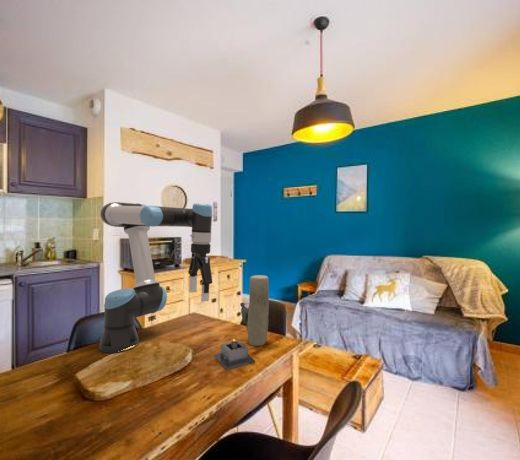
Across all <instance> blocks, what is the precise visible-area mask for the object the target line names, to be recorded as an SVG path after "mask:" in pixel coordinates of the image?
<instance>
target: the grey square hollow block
mask: <svg viewBox="0 0 520 460" xmlns="http://www.w3.org/2000/svg"><path fill="white" fill-rule="evenodd" d="M220 353H221V356H222V357H223V358H224V359H225V361H226V362H227V363H228V364H231V363H235V362H239V361H243V360H247V359H248V355H249V347H247V346H246V345H245V344H244V343H243V342H242V341H240V340H238V339H237V349H232V350H231V341H230V342H225V343H221V344H220Z"/></svg>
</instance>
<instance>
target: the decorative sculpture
mask: <svg viewBox="0 0 520 460" xmlns="http://www.w3.org/2000/svg"><path fill="white" fill-rule="evenodd" d="M269 282H270V281H269V277H268V276H267V275H265V274H264V275H263V274H262V275H261V274H260V275H259V274H258V275H256V274H255V275H252V276H250V279H249V303H247V302H241V303H240V304H239V306H240V307H241V308H240V313H241V318H242V322H243V325H244V326H245V325H246V331H247V342H248V344H249V345H251V346H253V347H256V346H257V347H259V346H260V347H261V346H264V345H265V344H266V342H267V337H268V330H269V313H270V312H269V310H270V307H269V306H270V297H269V296H270V293H269V290H270V289H269V288H270V287H269ZM248 304H249V305H248ZM245 305H248V308H247V307H246V306H245Z"/></svg>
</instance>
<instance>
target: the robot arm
mask: <svg viewBox="0 0 520 460" xmlns="http://www.w3.org/2000/svg"><path fill="white" fill-rule="evenodd" d="M99 214H100V218H101V220H102V222H103V223H104V224H105V225H107V226H110V227H115V228H117V227H118V228H123V232H124V233H125V234H127V237H128V242H129V248H130V254H131V260H132V266H133V273H134V281H135V284H134V285H133V287H132V288H121V289H117V290H113V291H111V292H110V293H108V294H106V296H105V297H104V305H103V307H104V310H103V311H104V323H103V324H104V328H103V332H102V335H101V337H100V341H99V347H98V349H99V350H100V352H103V353H106V354H108V353H109V354H112V353H113V354H115V352H117V353H119V352H118V351H121V350H123V349H126V348H128V347H130V346H133V345H136V344H138V345H139V339H140V338H139V335H138V332H137V329H136V326H135V320H136V319H135V318H140V317H143V316H148V315H150V314H156V313H157V312H160V311H162V310H163V309H164V308H165V306H166V304H167V301H168V294H167V290H166V289H165V287H164V286H161V285H160V281H158V280H156V277H155V276H156V275H155V270H154V266H153V264H154V263H153V260H152V259H153V258H152V253H151V249H150V248H151V247H150V241H149V235H148V233H149V230H150V227H179V228H180V227H181V228H182V227H187V228H191V234H190V235H189V236H190V238H191V240H190V241H191V242H192V243H191V244H190V252H191V258H190V263H189V267H188V270H187V271H188V274H189V293H192V294H193V293H197V290H198V289H197V288H198V287H197V284H198V283H197V282H198V271H200V277H201V280H202V282H201V294H200V296H201V297H200V302H201V303H203V302H210V300H209V299H210V285H211V284H213V277H212V269H211V259H210V256H209V257H208V256H207V254H210V253H211V242H212V241H211V240H212V221H213V220H212V218H213V207H212V205H211V204H210V203H194V204H192V207H191V208H187V207H186V208H185V207H184V208H183V207H173V206H172V207H170V206H160V205H159V206H158V205H146V204H141V203H131V202H129V203H127V202H120V201H118V202H115V201H114V202H108V203H107V204H105V205H103V207H102V208H101V210H100V213H99Z"/></svg>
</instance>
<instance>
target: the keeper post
mask: <svg viewBox="0 0 520 460" xmlns="http://www.w3.org/2000/svg"><path fill="white" fill-rule="evenodd" d="M237 341H238V338H237V337H233V338H231V340H230V342H231V350H232V349H237ZM213 356H214V357H213V358H215V359H216V360H217V362H218V363H220V365H221V366H222V367H223V368H224V369H225V370H226V371H228V370H231V369H236V368H239V367H243V366H247V365H250V364H254V363H255V362H256V360H255V359H254V358H253V357H252V356H251V355H249V354H248V359H247V360H243V361H239V362H235V363H231V364H228V363H227V362H226V361H225V359H224V358H223V357H222V356H221V352H219V353H215V354H214V355H213Z"/></svg>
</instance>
